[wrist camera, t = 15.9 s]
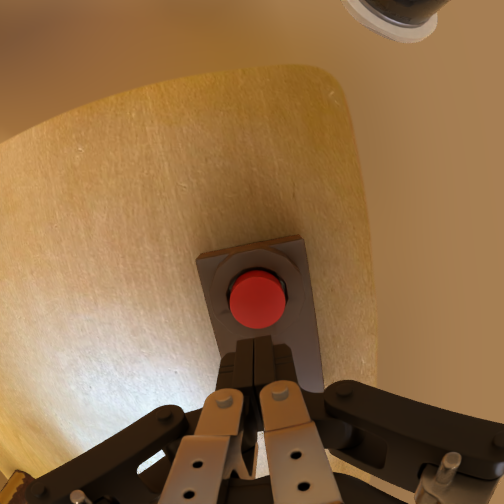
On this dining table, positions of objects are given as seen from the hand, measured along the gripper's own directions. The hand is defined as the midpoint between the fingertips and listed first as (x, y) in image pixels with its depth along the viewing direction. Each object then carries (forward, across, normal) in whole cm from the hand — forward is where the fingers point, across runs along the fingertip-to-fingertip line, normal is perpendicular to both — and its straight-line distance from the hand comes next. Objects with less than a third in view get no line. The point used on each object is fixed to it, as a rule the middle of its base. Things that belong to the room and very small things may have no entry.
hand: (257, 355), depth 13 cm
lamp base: (+12, 0, +5) cm, 13 cm away
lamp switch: (+8, 0, 0) cm, 8 cm away
